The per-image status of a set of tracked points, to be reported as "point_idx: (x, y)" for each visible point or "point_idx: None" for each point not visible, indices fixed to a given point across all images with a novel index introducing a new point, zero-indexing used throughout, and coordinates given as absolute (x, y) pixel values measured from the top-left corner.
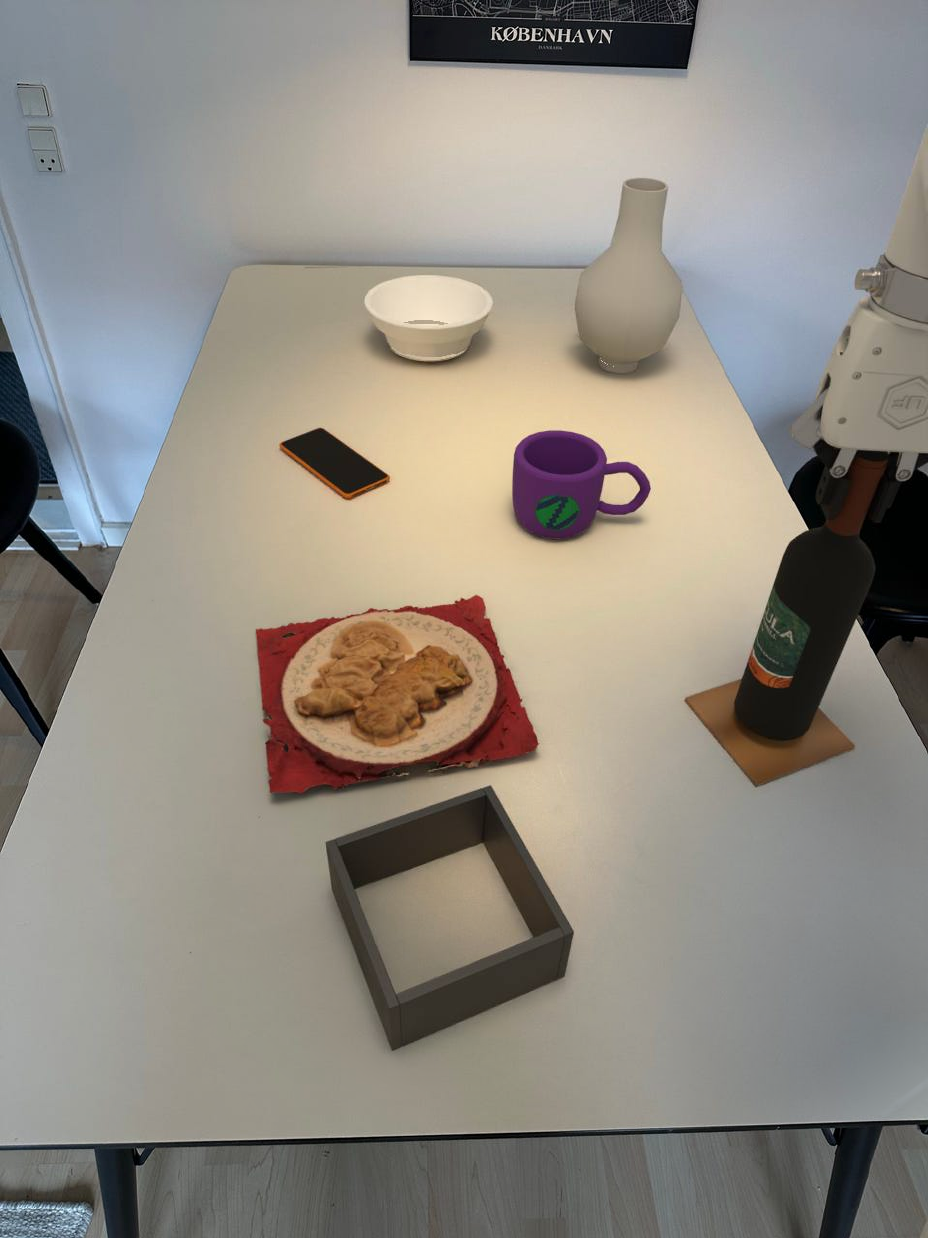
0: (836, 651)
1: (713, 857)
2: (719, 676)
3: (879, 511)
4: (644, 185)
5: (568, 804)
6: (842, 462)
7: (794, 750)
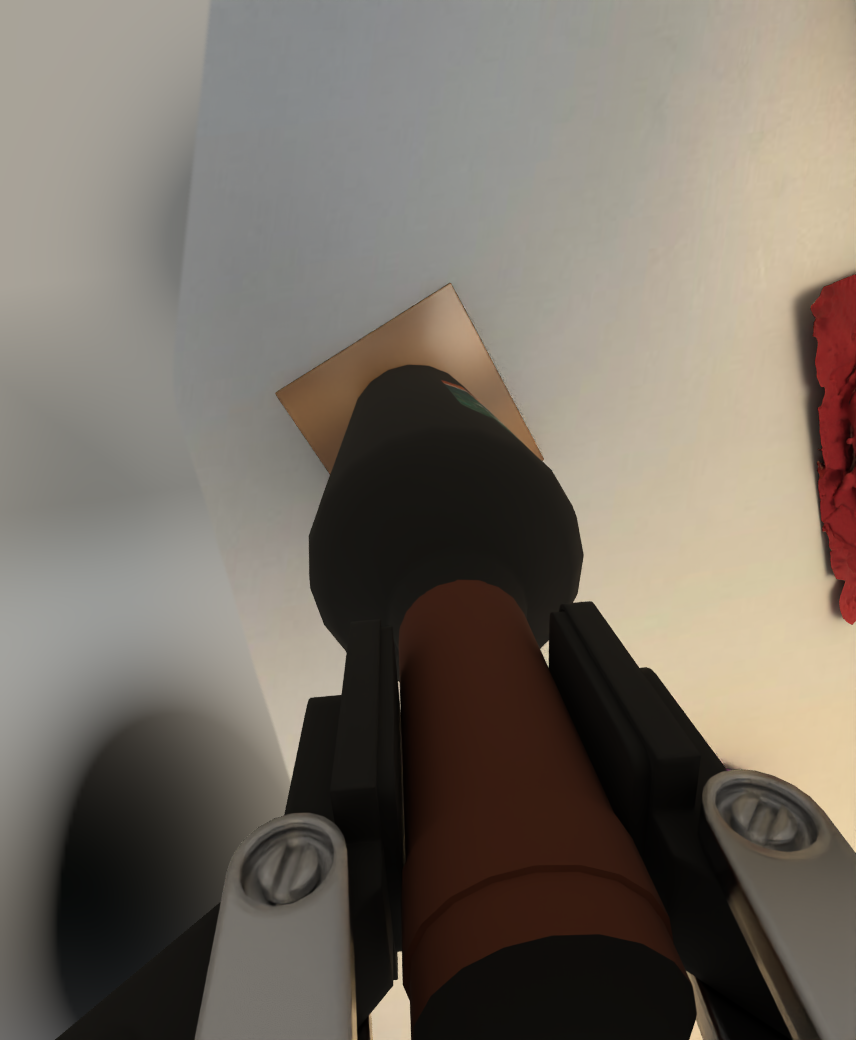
0: (367, 411)
1: (540, 112)
2: None
3: (375, 649)
4: None
5: (760, 200)
6: (820, 881)
7: (379, 367)
